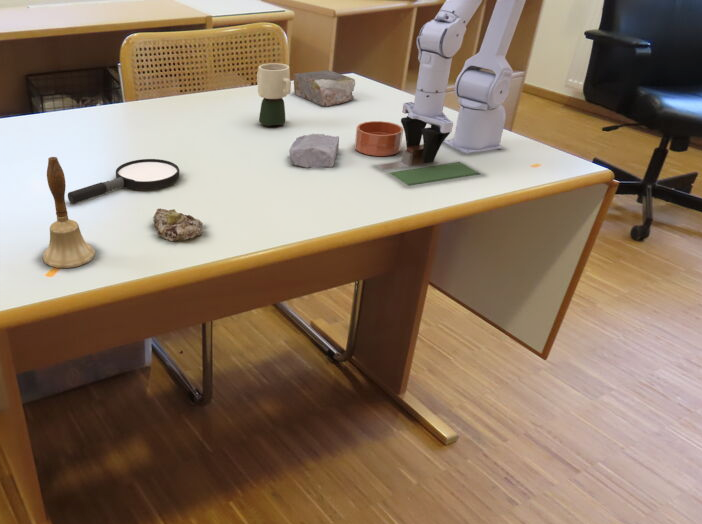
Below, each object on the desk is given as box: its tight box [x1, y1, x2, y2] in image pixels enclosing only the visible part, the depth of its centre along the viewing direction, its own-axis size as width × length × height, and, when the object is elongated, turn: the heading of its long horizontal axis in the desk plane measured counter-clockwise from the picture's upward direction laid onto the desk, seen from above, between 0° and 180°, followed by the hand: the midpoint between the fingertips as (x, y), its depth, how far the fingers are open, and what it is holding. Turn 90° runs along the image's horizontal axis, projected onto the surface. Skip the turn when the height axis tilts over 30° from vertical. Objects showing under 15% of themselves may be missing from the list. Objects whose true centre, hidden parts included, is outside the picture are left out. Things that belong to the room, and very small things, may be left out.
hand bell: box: [42, 156, 96, 269], centre depth 105 cm, size 8×8×16 cm
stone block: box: [288, 133, 340, 169], centre depth 144 cm, size 12×5×10 cm
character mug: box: [256, 62, 292, 127], centre depth 159 cm, size 11×7×13 cm, turn 40°
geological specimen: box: [293, 70, 356, 107], centre depth 180 cm, size 11×6×15 cm
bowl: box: [354, 120, 404, 157], centre depth 146 cm, size 10×10×5 cm
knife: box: [376, 143, 435, 171], centre depth 140 cm, size 12×3×3 cm, turn 110°
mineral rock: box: [152, 208, 204, 242], centre depth 116 cm, size 11×4×8 cm
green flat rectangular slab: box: [389, 161, 481, 187], centre depth 136 cm, size 17×7×1 cm, turn 110°
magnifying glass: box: [67, 158, 180, 205], centre depth 132 cm, size 12×24×2 cm, turn 132°
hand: (419, 157), depth 141 cm, fingers open, 5 cm apart
